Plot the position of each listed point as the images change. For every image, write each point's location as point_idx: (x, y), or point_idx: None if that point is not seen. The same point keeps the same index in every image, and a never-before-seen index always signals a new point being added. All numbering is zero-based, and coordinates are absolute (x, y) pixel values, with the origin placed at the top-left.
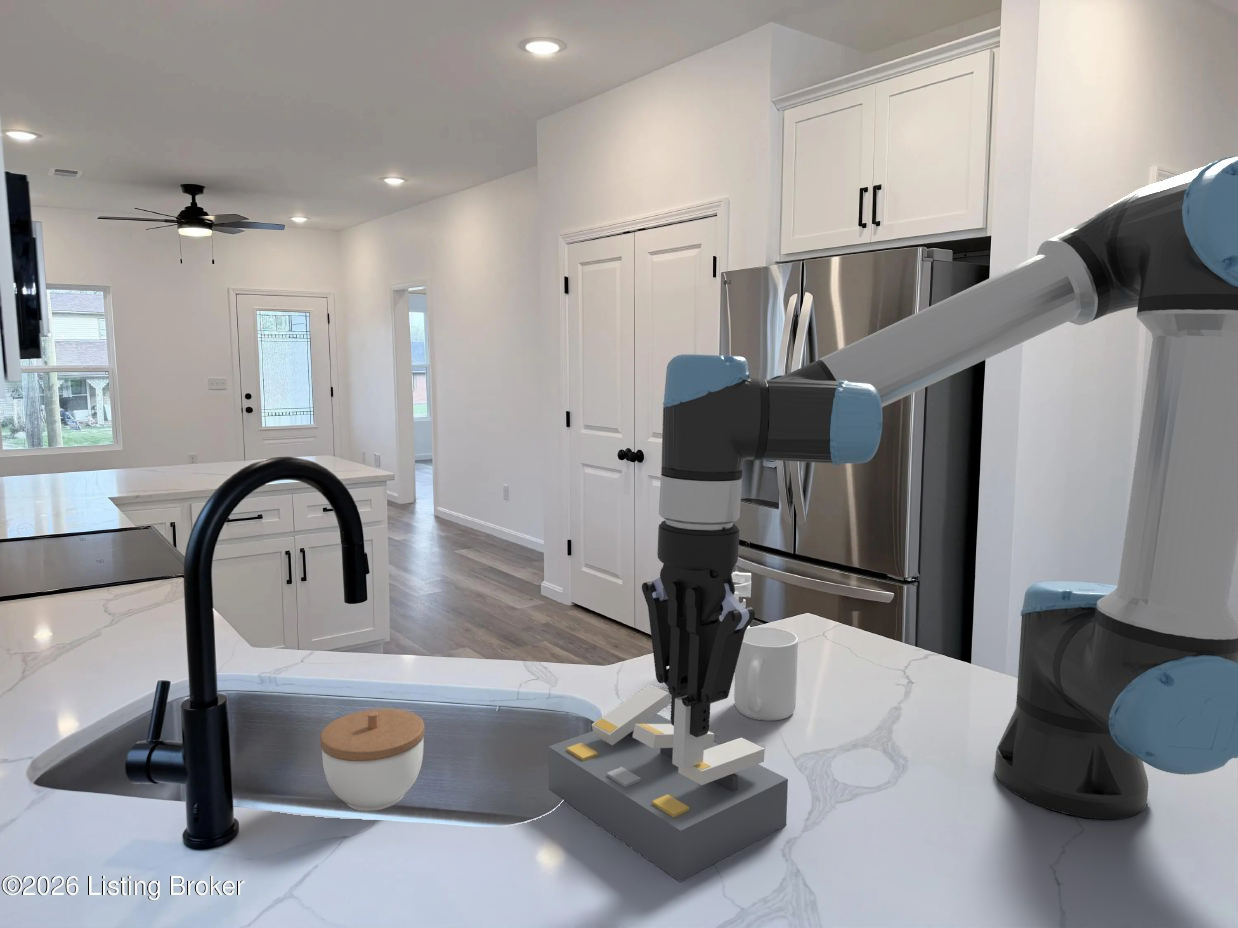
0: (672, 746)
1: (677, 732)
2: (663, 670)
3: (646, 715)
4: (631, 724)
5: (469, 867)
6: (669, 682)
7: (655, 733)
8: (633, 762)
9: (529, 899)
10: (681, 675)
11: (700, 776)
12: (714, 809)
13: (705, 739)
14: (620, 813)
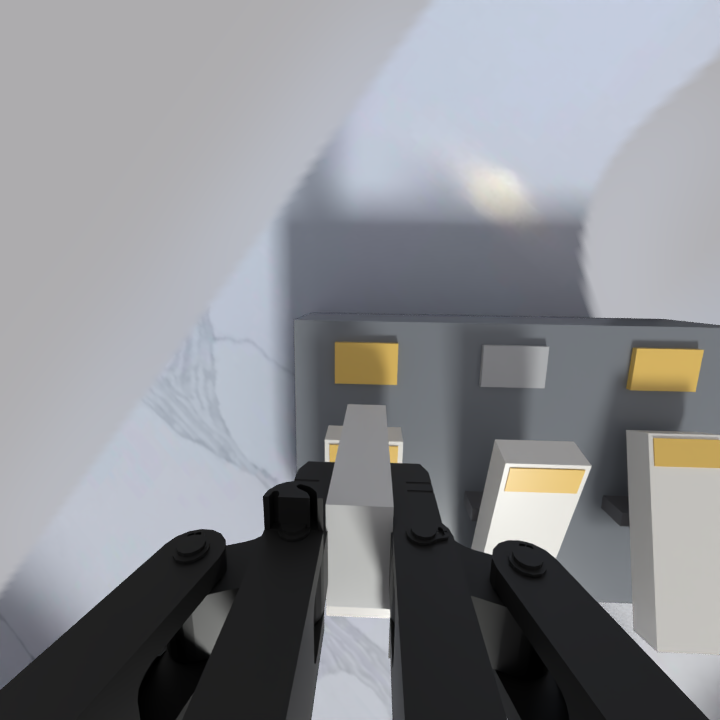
0: (485, 491)
1: (371, 442)
2: (521, 601)
3: (639, 550)
4: (640, 501)
5: (570, 53)
6: (452, 556)
7: (510, 467)
8: (545, 424)
9: (427, 92)
10: (396, 621)
11: (331, 433)
12: (307, 419)
13: None
14: (462, 319)
